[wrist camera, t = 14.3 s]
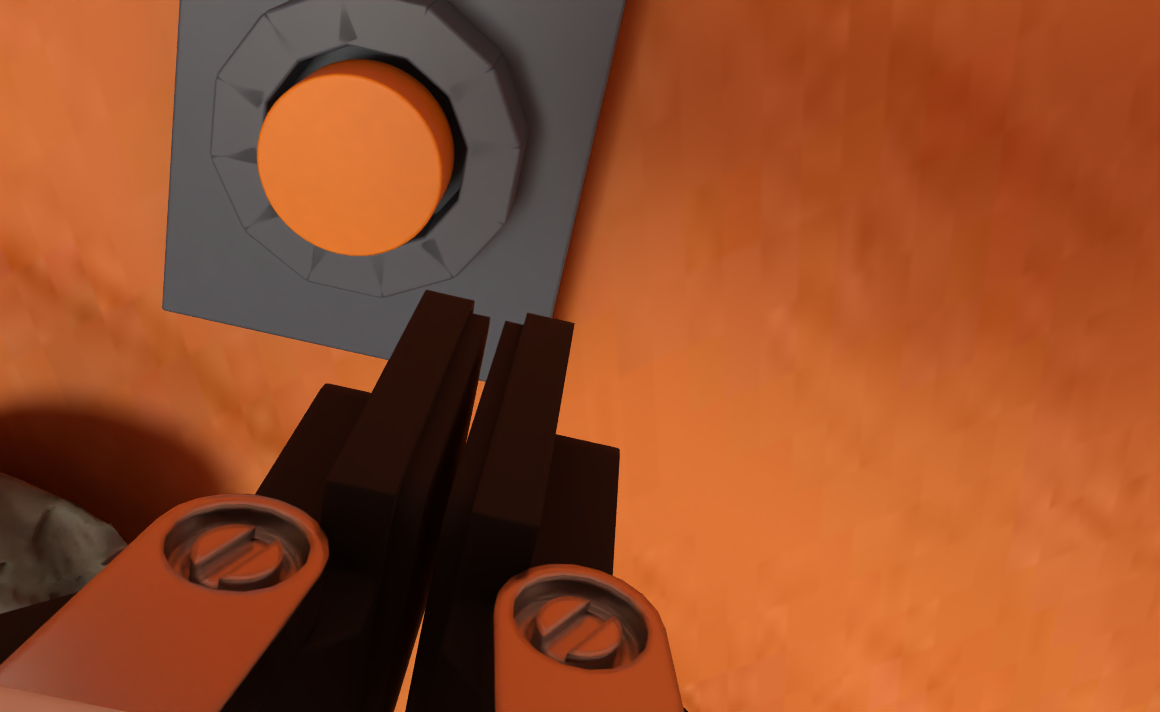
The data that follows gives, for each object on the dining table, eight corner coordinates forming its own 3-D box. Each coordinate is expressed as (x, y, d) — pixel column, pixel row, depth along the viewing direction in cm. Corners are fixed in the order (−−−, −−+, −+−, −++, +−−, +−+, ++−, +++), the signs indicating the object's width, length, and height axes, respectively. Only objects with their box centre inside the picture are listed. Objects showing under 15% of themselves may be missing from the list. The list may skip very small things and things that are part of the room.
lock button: (469, 81, 24) (456, 98, 22) (439, 248, 25) (426, 274, 24) (290, 39, 23) (265, 53, 22) (272, 210, 25) (248, 234, 24)
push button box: (644, -86, 25) (645, -75, 22) (541, 358, 30) (528, 427, 27) (225, -190, 25) (154, -196, 21) (192, 280, 30) (131, 339, 26)
